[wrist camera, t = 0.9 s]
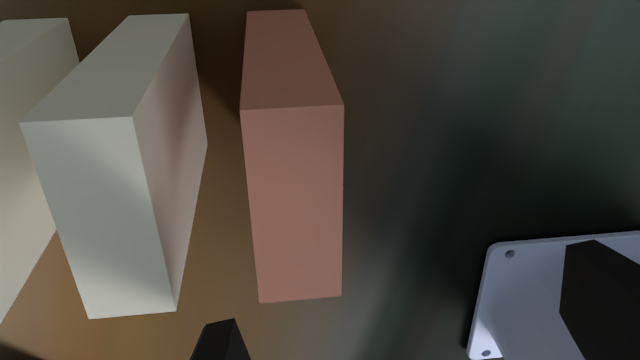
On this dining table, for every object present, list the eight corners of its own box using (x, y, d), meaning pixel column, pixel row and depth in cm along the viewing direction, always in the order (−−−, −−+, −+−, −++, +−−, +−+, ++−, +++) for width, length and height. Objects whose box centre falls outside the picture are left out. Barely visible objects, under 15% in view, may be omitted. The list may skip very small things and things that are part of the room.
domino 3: (304, 9, 17) (344, 104, 9) (308, 137, 20) (341, 296, 12) (247, 11, 17) (239, 110, 9) (258, 140, 19) (259, 303, 12)
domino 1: (67, 17, 16) (-100, 128, 9) (103, 150, 19) (-2, 327, 11) (5, 20, 16) (-224, 135, 8) (49, 153, 19) (-95, 335, 11)
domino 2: (188, 13, 17) (131, 116, 9) (207, 143, 19) (175, 311, 12) (128, 15, 17) (18, 122, 9) (155, 147, 19) (88, 319, 11)
